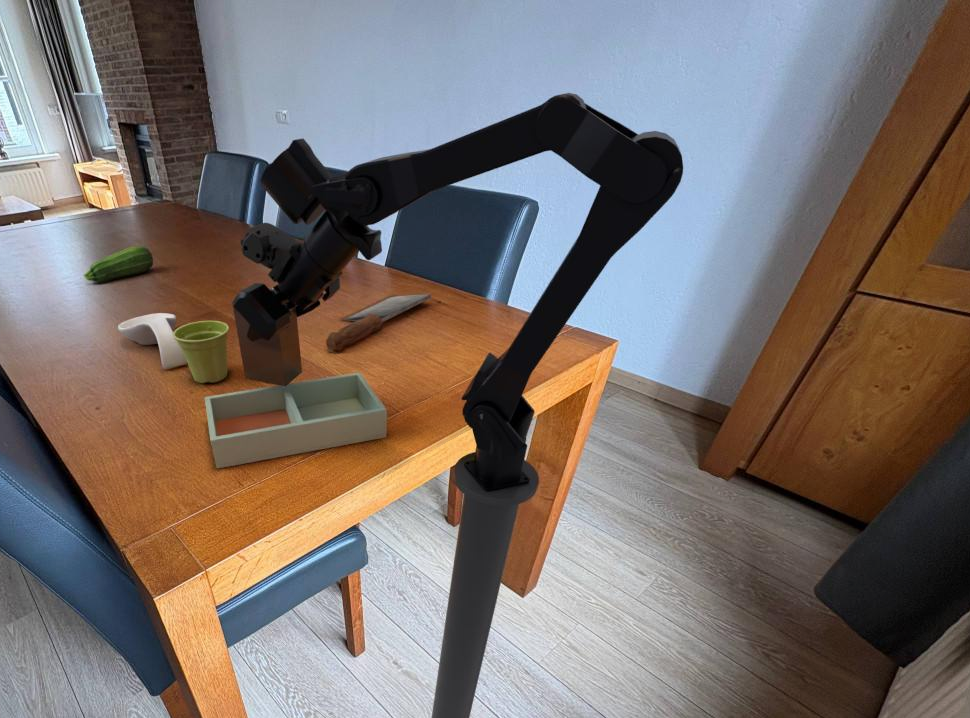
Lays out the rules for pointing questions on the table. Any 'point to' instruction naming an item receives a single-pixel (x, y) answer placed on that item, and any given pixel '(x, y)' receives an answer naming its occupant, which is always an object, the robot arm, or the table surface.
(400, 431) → the table surface
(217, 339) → the plant pot
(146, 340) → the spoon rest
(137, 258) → the vegetable
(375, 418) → the divided tray
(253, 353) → the knife block
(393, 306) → the meat cleaver
